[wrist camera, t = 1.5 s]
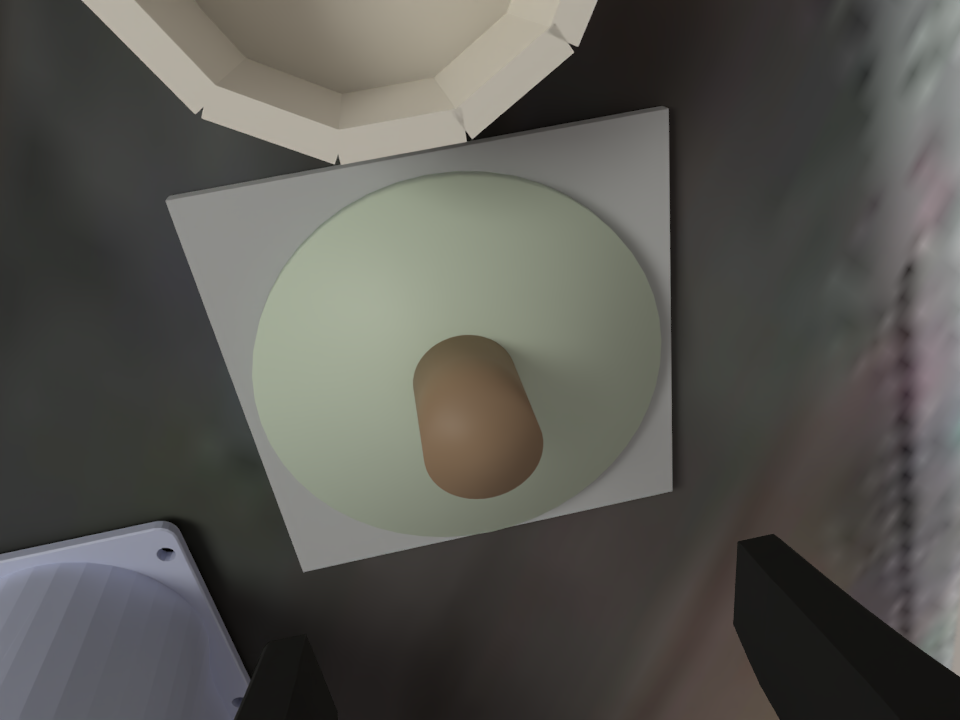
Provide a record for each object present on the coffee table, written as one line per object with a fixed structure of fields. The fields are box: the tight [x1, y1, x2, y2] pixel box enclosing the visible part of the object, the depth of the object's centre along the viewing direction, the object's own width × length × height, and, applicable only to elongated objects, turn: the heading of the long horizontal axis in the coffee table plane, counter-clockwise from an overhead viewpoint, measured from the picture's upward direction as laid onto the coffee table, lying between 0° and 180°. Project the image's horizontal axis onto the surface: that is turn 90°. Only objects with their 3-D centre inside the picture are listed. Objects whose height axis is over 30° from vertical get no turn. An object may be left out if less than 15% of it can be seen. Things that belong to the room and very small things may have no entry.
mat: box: [166, 106, 672, 572], centre depth 20 cm, size 12×12×1 cm
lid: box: [252, 171, 661, 537], centre depth 18 cm, size 11×11×4 cm
